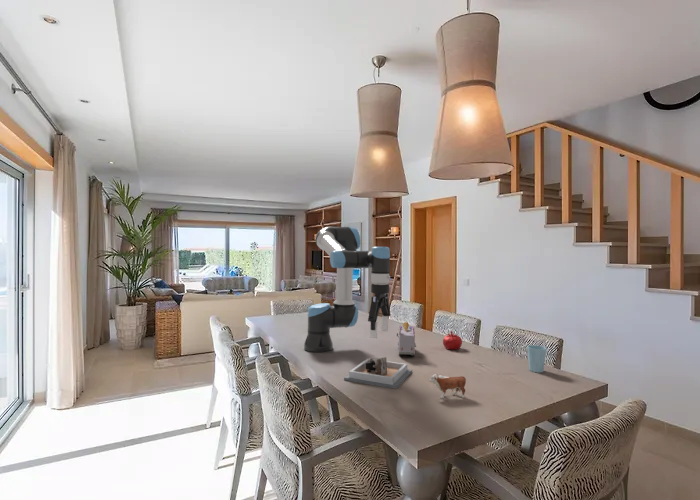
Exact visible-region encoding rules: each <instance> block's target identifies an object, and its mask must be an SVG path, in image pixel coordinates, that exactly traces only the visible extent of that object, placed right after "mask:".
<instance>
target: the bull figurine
mask: <svg viewBox="0 0 700 500" xmlns="http://www.w3.org/2000/svg"><path fill="white" fill-rule="evenodd" d="M428 380H429V383H433V384H434V385H436V388H437V389H438V390H439V391H441V392H442V394H441V396H440V399H441V400H444V398H445V396H446V392H447V390H451V392H454V393H453V394H452V396H456V395H458V392H461V396H460V398H462V399H464V398H465V394H466V393H465V392H466V388H465V387H466V377H465V376H462V375H460V376H444V375H440V374H439V375H438V374H437V373H433V375H431V376H430V378H429V379H428ZM454 390H455V391H454Z"/></svg>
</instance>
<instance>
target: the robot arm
mask: <svg viewBox="0 0 700 500" xmlns="http://www.w3.org/2000/svg"><path fill="white" fill-rule="evenodd" d="M315 244H316V246H317V248H319V249H320V250H322V251H325V253H326V254H327V255H328V256H329V265H330V267H331V268H333V269H336V288H335V290H336V295H335V296H336V297H335V300H334V301H333V302H332V305H331V304H330V303H327V302H326V303H325V302H321V303H316V304H311V305H310V306H309V307H308V309H307V335H306V337H305V341H304V344H303V349H304V350H305V351H307V352H312V353H324V352H330V351H331V350H333V349H334V348H333V347H334V344H333V341H332V337H331V334H330V330H331V329H337V328H338V329H339V328H340V329H341V328H346V329H347V328H351V327H354V326H355V325H356V324H357V322H358V319H359V308H358V306H357V305H356V304H355V301H354V300H353V279H354V277H353V276H354V274H353V273H354V269H371V271H370V272H371V276H370V280H371V281H370V282H371V286H370V292H371V294H374V296H371V303H370V307H369V313H368V318H367V321H368V322H369V323H370V325H369V326H370V329H369V331H370V333H369V338H371V339H378V321H377V320H378V316H379V313H380V310H381V313H382V316H381V332H387V333H388V332H389V317H391V315H392V314H391V308H390V302H389V294H390V284H389V283H390V279H391V276H390V270H391V269H390V268H391V267H390V262H391V253H390V251H391V250H390V247H388V246H373V247H371V250H358V249H360V247H361V235H360V231H358V229H357V228H356V227H354V226H353V227H352V226H351V227H350V226H326V227H323V228H321V229H320V230H319V231H317V233H316V235H315Z"/></svg>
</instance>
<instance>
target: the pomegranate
mask: <svg viewBox="0 0 700 500" xmlns="http://www.w3.org/2000/svg"><path fill="white" fill-rule="evenodd" d="M442 343H443V347H444V348H445V349H446V350H459V349H461V347H462V345H463V339H462V338H461V337H460V336H459V334H457V333H453V331H452V330H451V331H450V333H447V334H445V336H444V337H443V339H442Z"/></svg>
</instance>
